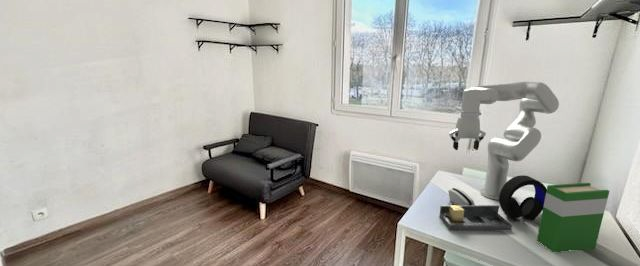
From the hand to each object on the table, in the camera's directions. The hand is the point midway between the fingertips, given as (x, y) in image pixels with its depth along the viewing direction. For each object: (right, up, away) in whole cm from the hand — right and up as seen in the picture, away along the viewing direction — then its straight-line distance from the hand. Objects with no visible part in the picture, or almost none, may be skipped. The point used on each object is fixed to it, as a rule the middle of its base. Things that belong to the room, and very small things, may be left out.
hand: (465, 149), depth 139 cm
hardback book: (+24, -36, -28) cm, 52 cm away
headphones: (+20, -31, -9) cm, 38 cm away
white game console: (-1, -29, +1) cm, 29 cm away
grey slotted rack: (-3, -32, -14) cm, 35 cm away
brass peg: (-12, -32, -13) cm, 37 cm away
